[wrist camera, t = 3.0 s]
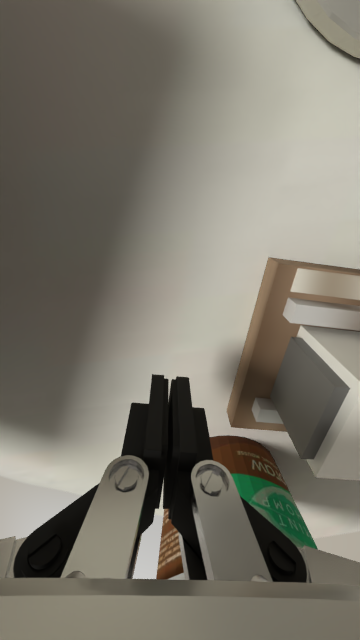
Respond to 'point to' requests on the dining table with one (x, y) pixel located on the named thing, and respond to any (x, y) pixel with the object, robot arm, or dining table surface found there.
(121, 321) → the dining table surface
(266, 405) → the gauge board
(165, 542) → the food container
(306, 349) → the gauge carriage
